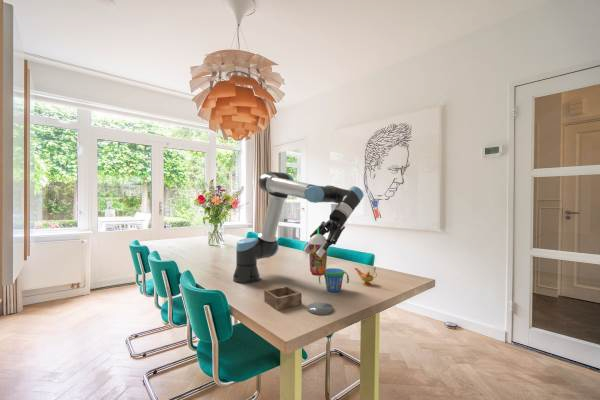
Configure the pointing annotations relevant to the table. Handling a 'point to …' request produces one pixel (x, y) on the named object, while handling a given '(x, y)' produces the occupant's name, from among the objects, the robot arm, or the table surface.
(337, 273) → the snack cup
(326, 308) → the slate coaster
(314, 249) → the smoothie
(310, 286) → the table surface
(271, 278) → the table surface
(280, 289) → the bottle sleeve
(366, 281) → the magic lamp
